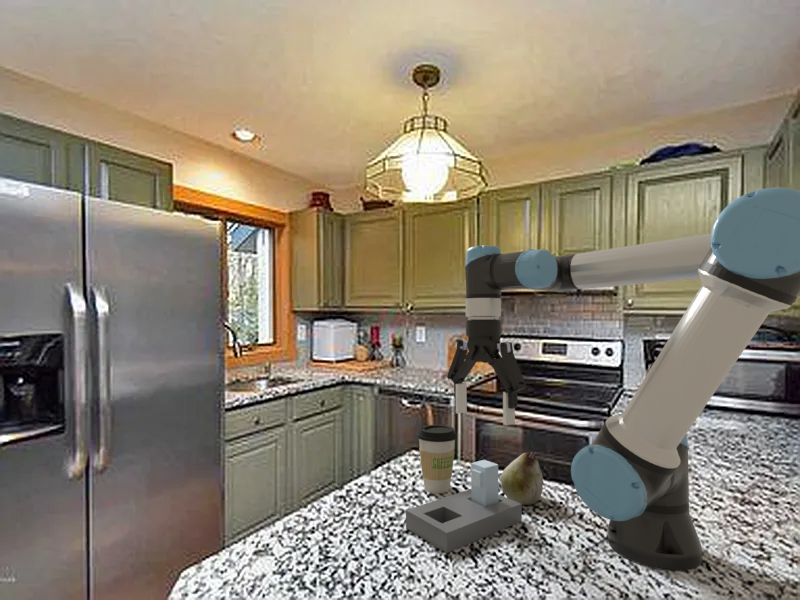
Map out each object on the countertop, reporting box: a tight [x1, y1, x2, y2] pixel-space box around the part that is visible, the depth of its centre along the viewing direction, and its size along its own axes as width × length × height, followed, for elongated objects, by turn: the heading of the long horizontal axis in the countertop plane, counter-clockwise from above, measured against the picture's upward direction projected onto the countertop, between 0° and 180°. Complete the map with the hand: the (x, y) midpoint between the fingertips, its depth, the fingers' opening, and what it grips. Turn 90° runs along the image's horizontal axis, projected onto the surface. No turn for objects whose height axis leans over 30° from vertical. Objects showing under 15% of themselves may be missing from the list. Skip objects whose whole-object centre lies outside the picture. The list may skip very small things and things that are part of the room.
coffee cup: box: [416, 424, 458, 494], centre depth 111 cm, size 10×10×15 cm
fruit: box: [500, 451, 544, 506], centre depth 104 cm, size 10×9×12 cm
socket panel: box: [405, 488, 523, 554], centre depth 92 cm, size 12×21×4 cm, turn 127°
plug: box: [470, 459, 499, 507], centre depth 95 cm, size 4×5×11 cm
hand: (483, 418), depth 96 cm, fingers open, 13 cm apart
